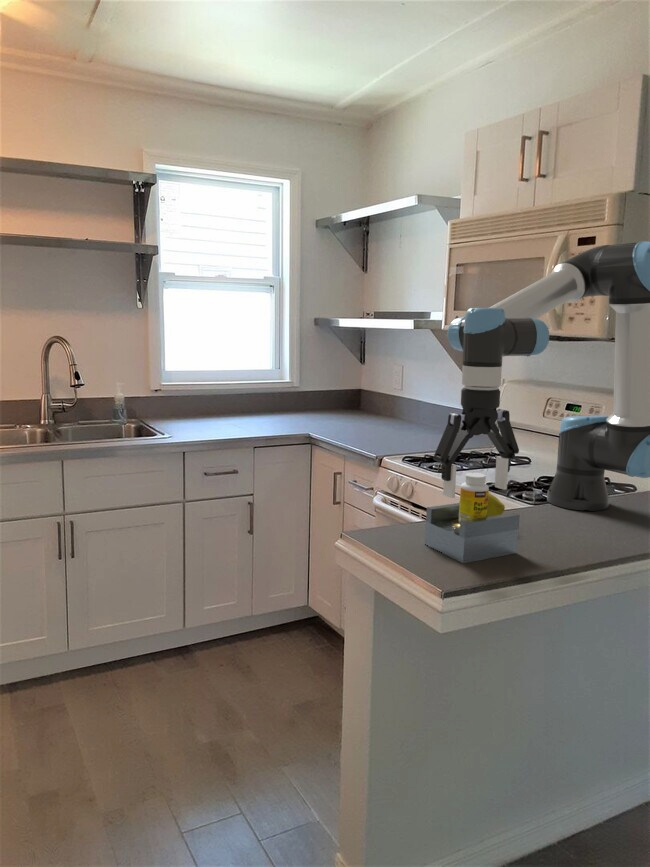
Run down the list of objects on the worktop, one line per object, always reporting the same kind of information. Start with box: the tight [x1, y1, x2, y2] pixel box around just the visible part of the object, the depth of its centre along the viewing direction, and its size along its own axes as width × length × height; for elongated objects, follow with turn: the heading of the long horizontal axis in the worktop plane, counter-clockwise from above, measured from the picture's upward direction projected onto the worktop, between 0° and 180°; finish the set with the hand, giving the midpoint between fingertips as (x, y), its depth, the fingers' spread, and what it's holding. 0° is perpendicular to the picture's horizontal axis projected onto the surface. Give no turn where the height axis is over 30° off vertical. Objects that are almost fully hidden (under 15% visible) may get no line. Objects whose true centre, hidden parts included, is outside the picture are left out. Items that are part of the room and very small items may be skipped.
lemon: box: [458, 493, 506, 517], centre depth 154 cm, size 11×8×8 cm
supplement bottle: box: [459, 472, 490, 522], centre depth 137 cm, size 6×6×10 cm
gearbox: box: [424, 502, 521, 564], centre depth 138 cm, size 14×12×8 cm
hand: (475, 492), depth 137 cm, fingers open, 13 cm apart
